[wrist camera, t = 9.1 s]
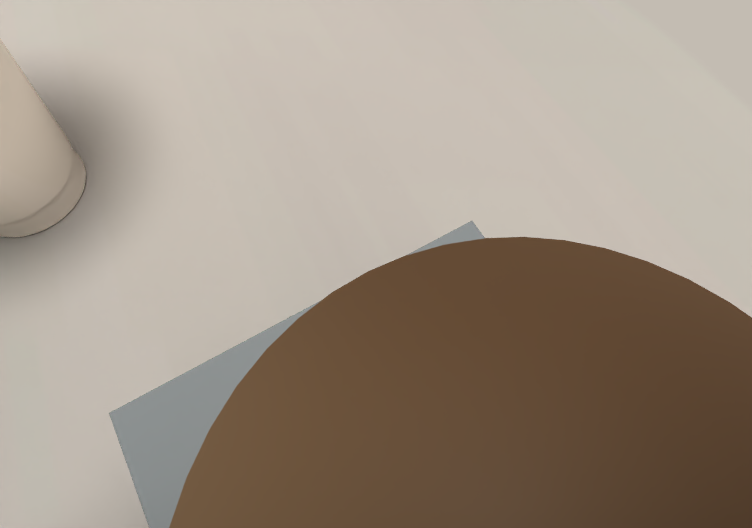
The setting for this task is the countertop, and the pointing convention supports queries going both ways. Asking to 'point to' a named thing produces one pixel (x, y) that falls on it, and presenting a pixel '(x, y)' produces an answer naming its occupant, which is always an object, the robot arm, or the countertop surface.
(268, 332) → the socket
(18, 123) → the cup with straw
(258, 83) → the countertop surface
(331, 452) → the peg
